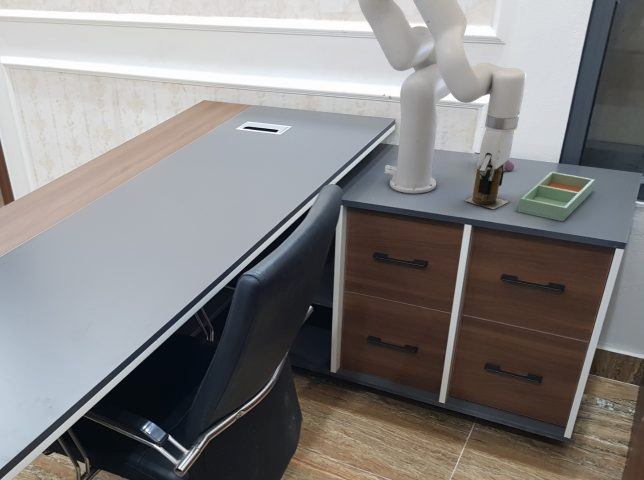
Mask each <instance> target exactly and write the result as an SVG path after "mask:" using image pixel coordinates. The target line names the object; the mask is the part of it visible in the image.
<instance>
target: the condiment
mask: <svg viewBox="0 0 644 480" xmlns="http://www.w3.org/2000/svg"><path fill="white" fill-rule="evenodd" d="M501 166H502V165H501ZM501 166H500V167H498V168H497V169H495V171H494V174H493V177H492V180H493V184H492V190H491V194H490V195H487V194H482V193H479V192H478V189H479V183H480V176H481V174H480V168H481V167H478V166H477V167H476V174H475V180H474V184H473V190H472V191H473V192H472V196H471V197H469V198H466V199H465V202H468V203H471V204H474V205H478V206H481V207H485V208H487V209H491V210H495V209H498V208H500V207H502V206H504V205H505V204H507V203H509V201H508V200H505V199H503V198H500V197H498V193H499V189H500V188H499V187H500V186H499V183H500V178H501V173H502V168H501ZM488 167H490V168H492V167H493V166H492V165H489V166H488ZM487 172H489V174H490V172H491V170H487Z"/></svg>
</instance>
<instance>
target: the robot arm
mask: <svg viewBox="0 0 644 480" xmlns="http://www.w3.org/2000/svg"><path fill="white" fill-rule="evenodd" d="M357 1H358V5H359V8H360V10H361V13H362V14H363V17H364V18H365V20H366V21H367V23H368V25H369V26H370V28H371V31H372V32H373V35H374V36H375V39H376V41H377V42H378V44H379V46H380V48H381V50H382V52H383V54H384V56H385V58H386V60H387V62H388V64H389V65H390V67H391V68H392V69H393V70H396V71H398V72H404V71H407V70H410V69H414V72H412V73H410V74H409V75H408V76H407V77H406V78H405V80H404V81H403V83H402V85H401V87H400V91H399V101H400V125H399V126H400V127H399V137H398V138H399V139H398V149H397V162H396V166H393V165H390V164H386V165H385V166H384V171H383V172H384V173H383V174H384V175H387V176H392V177H391V178H390V180H389V187H390V188H392V189H393V190H394V191H396V192H401V193H404V194H423V193H428V192H431V191H433V190H434V189H435V188H436V187H437V181H436V179H434V177H432V172H433V166H434V165H433V163H434V156H435V146H436V139H437V130H438V129H437V128H438V111H437V102H439V101H441V100H442V99H445V98H446V97H447V96H449V95H450V94H451V96H452V97H453V98H454V99H455V100H457V101H458V102H460V103H464V104H470V103H473V102H475V101H477V100H479V99H480V98H482V97H484V96H488V95H489V98H488V99H489V100H488V106H487V113H486V117H485V124H484V128H485V131H484V134H483V137H482V141H481V145H480V149H479V153H478V158H477V162H476V163H477V164H476V166H477V168H478V167H481V168H480V174H481V176H480V183H479V189H478V192H479V193H482V194H487V195H490V194H491V190H492V184H493V180H492V177H493V174H494V171H495V169H497V168H498V167H500V166H501V165H502V166H501V168H502V173H501V178H500V183H499V187H501V186H502V185H503V180H504V179H503V178H504V174H505V170H506V169H505V163H506V161H507V160H510V156H511V152H512V147H513V141H514V134H515V133H514V132H515V131H516V130H517V129H518V124H519V121H520V114H521V108H522V103H523V99H524V94H525V88H526V83H527V72H526V71H524V70H523V69H520V68H513V67H503V66H498V65H496V64H492V63H488V62H481V63H478V64H476V65H474V66H472V65H471V64H470V61H469V59H468V57H467V55H466V51H465V46H464V37H465V34H466V30H467V26H468V18H467V16H466V15H465V13H464V11H463V9H462V8H461V5H460V3H459V2H458V0H412V1H413V3H414V5H415V7H416V9H417V11H418V12H419V14H420V16H421V18H422V20H423V22H424V24H425V25H426V26H422V25H416V26H413V27H412V26H411V24H410V23H409V21H408V19H407V17H406V15H405V13H404V12H403V10H402V8H401V7H400V6H399V5H398V4H397V3H396V1H394V0H357ZM489 165H492V166H493V167H492V168H490V167H488V166H489ZM487 170H491V172H490V174H489V172H487Z"/></svg>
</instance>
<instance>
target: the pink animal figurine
mask: <svg viewBox="0 0 644 480" xmlns="http://www.w3.org/2000/svg"><path fill="white" fill-rule="evenodd" d="M514 169H515V164H514V163H513V162H512V161H511V160H510V159H508V160H507V161H506V163H505V170H506V171H509V172H511V171H513V170H514Z"/></svg>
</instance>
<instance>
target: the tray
mask: <svg viewBox="0 0 644 480" xmlns="http://www.w3.org/2000/svg"><path fill="white" fill-rule="evenodd" d="M595 181H596V179H594V178H588V177H583V176H579V175H578V176H577V175H572V174H568V173H567V174H566V173H561V172H556V171H550V172H549V173H548V174H547V175H545V176H544V177H543V178H542V179H541V180H540V181H538V182H537V183H536V184H535V185H534V186H533V187H532V188H530V189H529V191H527V192H526V193H525V194H524V195H523V196H521V197H520V198H519V204H518V207H517V208H518V209H517V212H519V213H522V214H523V213H524V214H527V215H532V216H538V217H540V218H541V217H542V218H546V219H550V220H555V221H559V222H564V221H565V220H566V219H567V218H568V217H569V216H570V215H571V214H573V212H574V211H575V210H577V208H578V207H579V206H580V205H581V204H582V203H583V202H584V201H585V200H586V199H588V197H589V196H590V195H591V194H592V193H593V189H594V186H595V185H594V184H595Z"/></svg>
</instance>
